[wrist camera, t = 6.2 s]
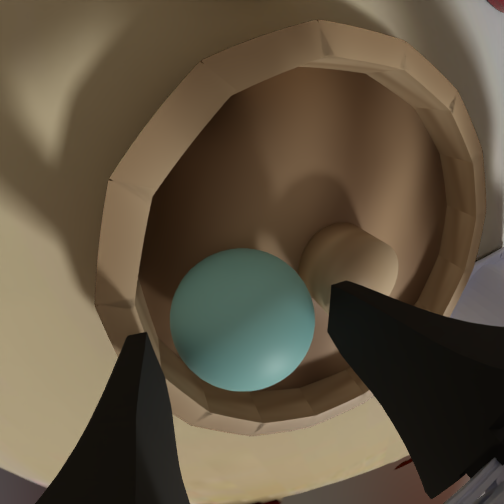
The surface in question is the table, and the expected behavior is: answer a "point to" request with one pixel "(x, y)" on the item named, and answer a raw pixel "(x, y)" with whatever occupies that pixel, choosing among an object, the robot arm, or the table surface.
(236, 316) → the bead teal
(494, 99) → the table surface
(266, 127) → the groove tray
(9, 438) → the table surface
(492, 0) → the canister
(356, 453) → the table surface
